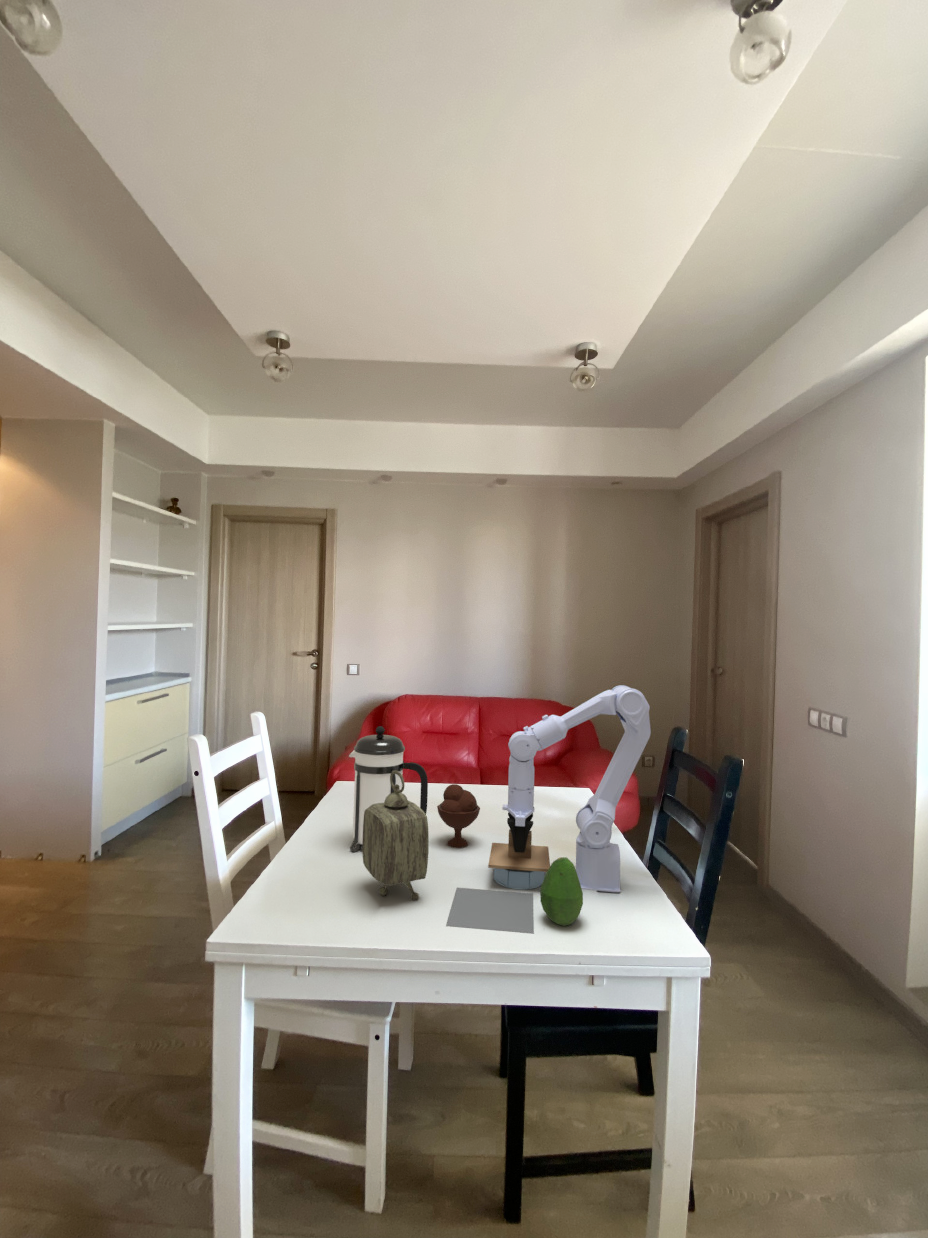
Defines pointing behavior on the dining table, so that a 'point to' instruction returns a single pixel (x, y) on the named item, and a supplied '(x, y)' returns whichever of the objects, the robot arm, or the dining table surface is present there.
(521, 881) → the bowl
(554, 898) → the avocado
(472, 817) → the ice cream bowl
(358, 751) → the coffee press
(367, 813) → the tabletop clock
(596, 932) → the dining table surface
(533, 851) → the cover board
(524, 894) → the mat
